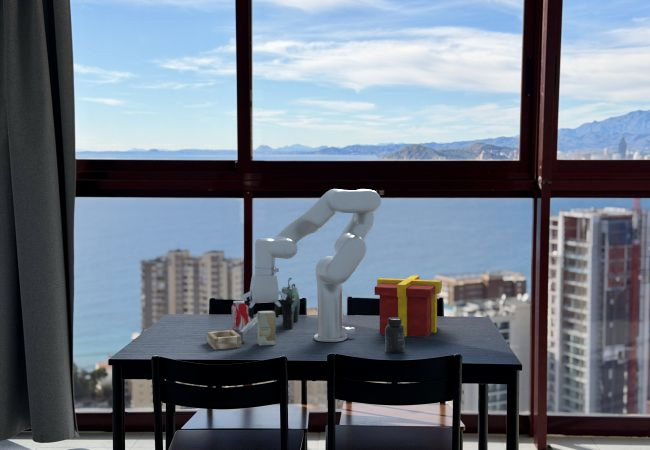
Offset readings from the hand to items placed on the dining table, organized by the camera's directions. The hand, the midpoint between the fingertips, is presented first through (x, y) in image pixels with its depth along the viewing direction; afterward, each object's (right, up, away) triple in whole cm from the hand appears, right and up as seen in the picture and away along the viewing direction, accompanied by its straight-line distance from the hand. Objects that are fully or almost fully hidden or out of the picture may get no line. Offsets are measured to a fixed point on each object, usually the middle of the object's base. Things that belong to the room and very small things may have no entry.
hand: (264, 317), depth 319 cm
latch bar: (-5, -4, +7) cm, 10 cm away
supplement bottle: (+48, -11, -12) cm, 50 cm away
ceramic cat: (+8, -7, +36) cm, 37 cm away
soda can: (-11, -8, +24) cm, 28 cm away
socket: (-15, -10, +1) cm, 18 cm away
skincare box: (+1, -10, +1) cm, 10 cm away
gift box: (+56, -8, +22) cm, 61 cm away
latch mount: (-10, -10, +6) cm, 15 cm away
